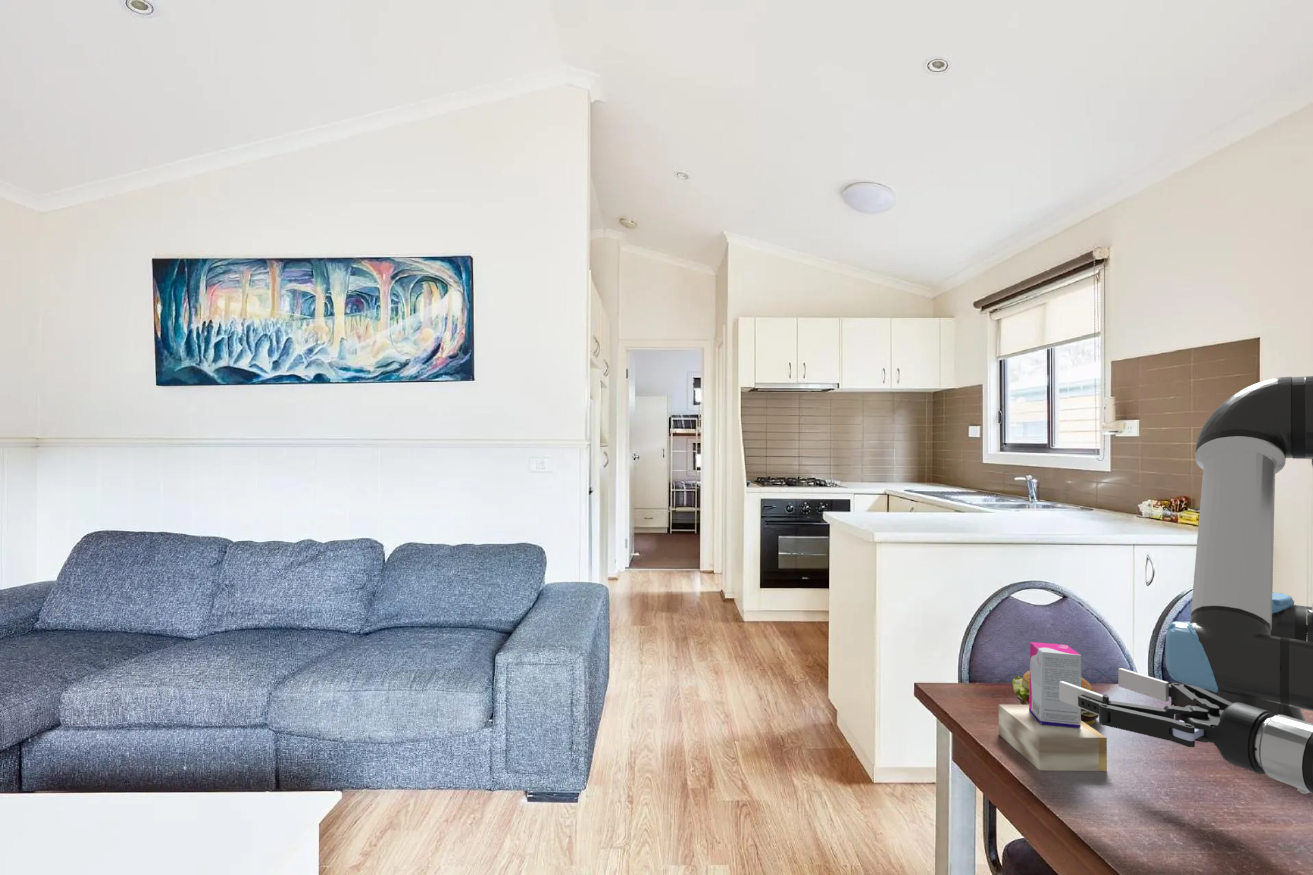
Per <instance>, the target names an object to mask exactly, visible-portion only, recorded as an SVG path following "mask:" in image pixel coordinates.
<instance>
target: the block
mask: <svg viewBox="0 0 1313 875" xmlns="http://www.w3.org/2000/svg"><path fill="white" fill-rule="evenodd" d="M998 735H999V736H1000V737H1001V738H1002V739H1003V740H1005V741H1006V743H1008V744H1009V745H1010V746H1011V747H1012V748H1013V749H1015V750H1016V751H1017V752H1018V753H1019V754H1020V755H1021V756H1022V757H1024V758H1025V759H1026V760H1027V761H1028V762H1029V763H1030V764H1031V765H1033V766H1034V768H1036V769H1037V770H1038V771H1054V772H1055V771H1057V772H1058V771H1060V772H1062V771H1065V772H1067V771H1068V772H1069V771H1070V772H1071V771H1074V772H1107V771H1108V764H1107V763H1108V756H1107V755H1108V746H1107V745H1108V739H1107V737H1106V736H1105V735H1104V734H1102V733H1100V732H1099V731H1098V730H1096V729H1095V728H1093V727H1092V726H1089V725H1087V724H1086V723H1084V722H1083V721H1081V727H1080V728H1069V727H1059V726H1046V725H1041V724H1040V723H1039V722H1038V721H1037V719H1036V718H1035V717H1034V716H1033V715H1032V714H1031V712H1030V711H1029V705H1020V704H998Z"/></svg>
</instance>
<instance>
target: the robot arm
mask: <svg viewBox="0 0 1313 875" xmlns="http://www.w3.org/2000/svg"><path fill="white" fill-rule="evenodd" d="M1195 445H1196V446H1195V456H1194V457H1195V458H1194V459H1195V462H1196V465H1197V466H1198V467H1199V468H1200V469H1201V470H1202V482H1201V489H1200V490H1201V491H1200V492H1201V493H1200V505H1199V515H1198V526H1197V537H1196V551H1195V552H1196V553H1195V563H1194V573H1193V574H1194V575H1193V586H1192V595H1191V596H1192V598H1191V607H1190V608H1191V610H1190V620H1189V621H1187V620H1185V621H1180V620H1179V621H1176V620H1175V621H1172V622H1170V623H1169V624H1168V627H1167V632H1166V635H1165V650H1164V651H1165V653H1164V654H1165V666H1166V670H1167V672H1168V673H1167V674H1168V675H1169V677H1170V678H1171V679H1172V680H1174V681H1177V682H1178V683H1177V682H1171V683H1169V681H1166V680H1162V679H1159V678H1156V677H1152V676H1149V675H1145V674H1142V673H1139V672H1136V671H1133V670H1131V669H1127V668H1123V667H1120V668H1118V672H1117V674H1118V678H1117V680H1118V687H1119V688H1123V689H1126V690H1129V691H1131V692H1134V693H1138V694H1141V695H1145V696H1147V697H1150V698H1152V699H1156V700H1159V701H1162V702H1166V703H1167V702H1170V705H1169V704H1168V705H1165V706H1164V707H1158V706H1152V705H1144V704H1137V703H1129V702H1122V701H1118V700H1117V701H1116V700H1110V696H1108V693H1107V694H1105V693H1104V694H1101V693H1098V692H1096V691H1095V692H1093V691H1094V690H1093V691H1090V690H1087V689H1084V688H1081V687H1079V686H1076V685H1073V684H1070V683H1067V682H1064V681H1060V682H1059V700H1060V701H1063V702H1065V703H1068V704H1070V705H1073V706H1076V707H1078V708H1081V709H1084V710H1086V711H1089V712H1092V713H1094V714H1097V715H1099V716H1098V724H1100V725H1102V726H1105V727H1110V728H1113V729H1119V730H1123V731H1128V732H1131V733H1135V734H1140V735H1144V736H1148V737H1153V738H1157V739H1161V740H1164V741H1165V740H1166V741H1170V742H1173V743H1176V744H1179V745H1182V746H1185V747H1186V748H1195V747H1196V746H1195V745H1196V743H1195V742H1200V743H1201V742H1202V743H1211V744H1212V743H1213V745H1215V746H1216V747H1217V749H1218V751H1219V754H1220V755H1221V757H1222V758H1223V759H1224V760H1225V761H1226V762H1228V763H1229V764H1232V765H1234V766H1237V767H1240V768H1243V769H1245V770H1248V771H1251V772H1253V773H1255V774H1258V775H1266V776H1268V777H1269V778H1270V779H1273V780H1275V781H1278V782H1281V783H1283V784H1287V785H1289V786H1292V787H1294V788H1296V789H1297V792H1298V793H1301V794H1303V795H1307V794H1309V793H1310V794H1313V723H1312V722H1308V721H1306V719H1305V717H1304V714H1303V712H1302V710H1306V711H1311V712H1313V604H1312V605H1311V606H1305V605H1298V604H1295V600H1294V599H1293V597H1292V596H1291V595H1289V594H1286V593H1282V592H1273V587H1274V586H1273V585H1274V584H1273V582H1274V579H1273V578H1274V543H1275V542H1274V540H1275V539H1274V538H1275V535H1274V534H1275V496H1276V489H1275V488H1276V475H1277V474H1278V473H1279V472H1281V470H1283V469H1284V467H1285V465H1286V460H1287V459H1297V460H1298V459H1303V460H1305V459H1308V460H1310V459H1311V467H1312V468H1313V375H1312V376H1311V375H1309V376H1308V375H1307V376H1280V377H1274V378H1269V379H1265V380H1263V381H1259V382H1257V383H1253V384H1251V385H1249V386H1246V387H1244V388H1242V389H1241V390H1239V391H1238V392H1236V393H1235V394H1232V395H1231V396H1230V397H1229V398H1228V399H1226V400H1225V401H1224V402H1223V403H1221V404H1220V405H1218V407H1217V408H1215V410H1214V411H1213V412H1212V414H1211V415H1210V416H1209V417H1208V419H1207V420H1206V422H1205V423H1204V425H1203V427H1202V428H1201V430H1200V432H1199V435H1198V437H1197V440H1196V444H1195ZM1182 684H1183V685H1182Z"/></svg>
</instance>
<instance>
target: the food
mask: <svg viewBox="0 0 1313 875" xmlns="http://www.w3.org/2000/svg"><path fill="white" fill-rule="evenodd" d="M1011 682H1012V683H1011V684H1012V686H1013V692H1014V694H1016V697H1017V699H1018V700H1019V705H1029V689H1030V669H1029V670H1027V671H1026V672H1025V673H1024V674H1023V676H1022V677H1020V675H1019V674H1017V675H1016V676H1015V677H1014V678H1013V679H1012V681H1011ZM1081 688H1084V689H1087V690H1090V691H1093V692H1096V691H1095V690H1094V689H1093V687H1092V685H1091V684H1090V683H1089V681H1087V680H1086V679H1085V678H1084V677H1082V676H1081ZM1097 719H1099V715H1097V714H1094V713H1092V712H1089V711H1086V710H1084V709H1081V721H1083V722H1084V723H1086V724H1087V725H1089V726H1090V727H1092V725H1093V724H1095V723H1096V720H1097Z"/></svg>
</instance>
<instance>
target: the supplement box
mask: <svg viewBox="0 0 1313 875" xmlns="http://www.w3.org/2000/svg"><path fill="white" fill-rule="evenodd" d="M1029 647H1030V648H1029V670H1030V689H1029V711H1030V712H1031V714H1032V715H1033V716H1034V717H1035V718H1036V719H1037V721H1038V722H1039V723H1040V724H1041V725H1046V726H1059V727H1069V728H1080V727H1081V708H1078V707H1076V706H1073V705H1070V704H1068V703H1065V702H1063V701H1060V700H1059V682H1060V681H1064V682H1067V683H1070V684H1073V685H1076V686H1079V687H1081V677H1082V655H1081V654H1080V653H1079V652H1077V650H1075V649H1073V648H1071V646H1069V645H1068V644H1059V643H1049V642H1047V643H1046V642H1034V641H1031V642H1030V644H1029Z"/></svg>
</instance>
